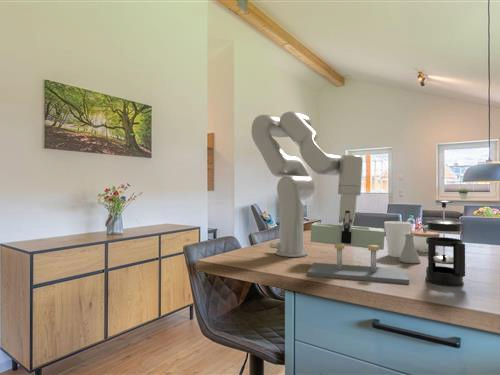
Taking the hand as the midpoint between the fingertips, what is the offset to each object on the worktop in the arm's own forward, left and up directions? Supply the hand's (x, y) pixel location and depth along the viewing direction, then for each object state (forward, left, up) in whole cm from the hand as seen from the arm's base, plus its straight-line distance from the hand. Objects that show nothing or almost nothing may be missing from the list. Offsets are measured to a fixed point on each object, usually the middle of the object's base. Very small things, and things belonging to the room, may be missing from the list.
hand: (346, 240), depth 116 cm
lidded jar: (+30, +34, -8) cm, 47 cm away
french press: (+27, -15, -8) cm, 32 cm away
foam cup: (+18, +20, -8) cm, 29 cm away
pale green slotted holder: (0, 0, -1) cm, 1 cm away
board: (+3, -14, -8) cm, 16 cm away
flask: (+21, +10, -8) cm, 25 cm away
